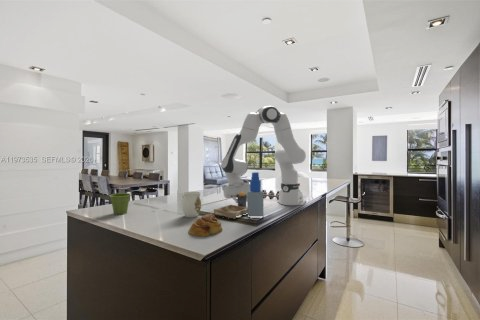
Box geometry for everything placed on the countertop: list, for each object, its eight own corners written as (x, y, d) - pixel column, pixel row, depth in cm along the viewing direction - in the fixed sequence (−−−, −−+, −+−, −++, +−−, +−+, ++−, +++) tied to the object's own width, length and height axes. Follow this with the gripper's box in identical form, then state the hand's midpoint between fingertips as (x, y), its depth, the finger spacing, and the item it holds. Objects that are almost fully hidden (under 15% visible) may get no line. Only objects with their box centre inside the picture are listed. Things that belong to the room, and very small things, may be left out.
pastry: (227, 230, 113) (227, 213, 113) (201, 239, 103) (201, 220, 102) (209, 224, 123) (209, 209, 122) (183, 232, 112) (183, 214, 112)
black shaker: (241, 207, 159) (241, 194, 158) (247, 208, 155) (247, 194, 155) (235, 209, 154) (235, 195, 154) (242, 210, 151) (242, 196, 151)
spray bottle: (262, 214, 141) (262, 171, 140) (264, 219, 132) (263, 173, 131) (247, 214, 141) (247, 171, 140) (247, 219, 132) (247, 173, 131)
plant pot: (117, 216, 138) (116, 197, 138) (105, 214, 144) (104, 195, 144) (135, 212, 148) (135, 194, 148) (124, 210, 154) (123, 192, 154)
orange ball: (241, 197, 157) (241, 191, 157) (246, 197, 155) (246, 191, 155) (237, 198, 154) (237, 191, 154) (242, 198, 152) (242, 192, 152)
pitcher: (207, 212, 147) (207, 189, 147) (193, 220, 130) (193, 194, 129) (191, 211, 150) (191, 189, 150) (175, 218, 133) (175, 193, 133)
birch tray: (230, 210, 152) (230, 204, 152) (250, 213, 143) (250, 207, 143) (214, 215, 140) (213, 209, 140) (234, 219, 131) (234, 213, 131)
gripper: (222, 182, 156) (228, 200, 147) (250, 180, 165) (257, 197, 156) (220, 188, 160) (225, 206, 152) (247, 186, 169) (254, 202, 160)
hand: (242, 201), depth 154 cm, fingers closed on black shaker, 5 cm apart
